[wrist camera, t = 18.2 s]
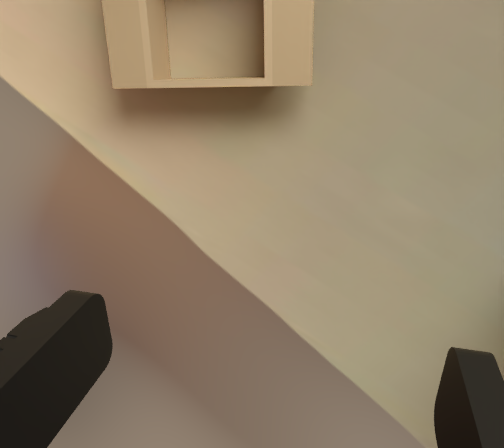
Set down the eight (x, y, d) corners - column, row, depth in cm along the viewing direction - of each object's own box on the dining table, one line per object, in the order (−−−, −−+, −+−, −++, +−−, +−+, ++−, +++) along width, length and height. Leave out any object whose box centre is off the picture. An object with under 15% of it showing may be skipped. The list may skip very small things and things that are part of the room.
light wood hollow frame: (317, -58, 32) (315, -74, 29) (313, 83, 36) (311, 85, 32) (119, -44, 35) (94, -57, 31) (133, 86, 39) (112, 88, 35)
